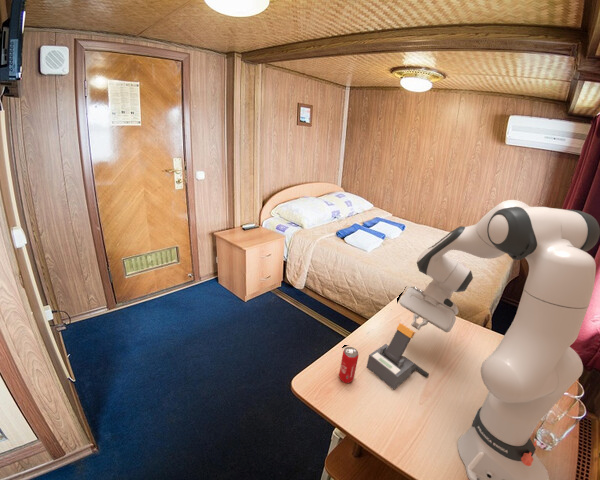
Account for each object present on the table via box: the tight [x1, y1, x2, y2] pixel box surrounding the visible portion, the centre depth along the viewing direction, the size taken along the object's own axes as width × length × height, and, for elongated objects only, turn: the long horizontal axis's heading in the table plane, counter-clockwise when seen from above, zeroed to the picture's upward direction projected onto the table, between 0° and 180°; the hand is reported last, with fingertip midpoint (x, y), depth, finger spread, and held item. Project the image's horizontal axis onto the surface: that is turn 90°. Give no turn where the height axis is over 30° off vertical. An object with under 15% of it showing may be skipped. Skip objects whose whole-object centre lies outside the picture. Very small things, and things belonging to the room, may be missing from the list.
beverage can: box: [338, 346, 359, 384], centre depth 104 cm, size 5×5×12 cm
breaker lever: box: [383, 323, 416, 364], centre depth 107 cm, size 6×2×13 cm, turn 40°
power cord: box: [403, 355, 430, 378], centre depth 112 cm, size 11×5×2 cm, turn 40°
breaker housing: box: [366, 343, 414, 391], centre depth 109 cm, size 12×12×9 cm
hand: (414, 327), depth 111 cm, fingers closed
